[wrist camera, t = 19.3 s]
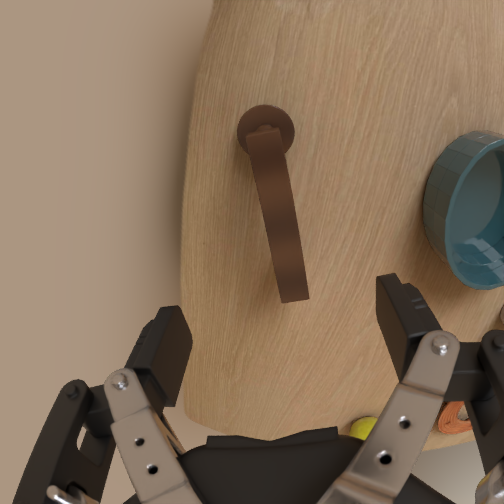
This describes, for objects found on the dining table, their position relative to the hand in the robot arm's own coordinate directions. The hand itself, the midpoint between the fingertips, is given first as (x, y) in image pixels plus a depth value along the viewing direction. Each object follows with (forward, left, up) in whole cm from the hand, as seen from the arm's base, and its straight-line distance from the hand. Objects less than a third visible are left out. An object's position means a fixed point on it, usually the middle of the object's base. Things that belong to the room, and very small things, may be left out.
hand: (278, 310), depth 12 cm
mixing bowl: (+6, +24, -21) cm, 32 cm away
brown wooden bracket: (0, 0, -21) cm, 21 cm away
